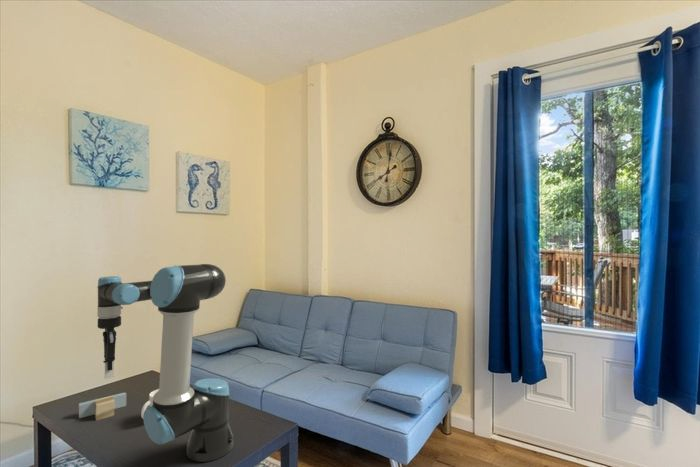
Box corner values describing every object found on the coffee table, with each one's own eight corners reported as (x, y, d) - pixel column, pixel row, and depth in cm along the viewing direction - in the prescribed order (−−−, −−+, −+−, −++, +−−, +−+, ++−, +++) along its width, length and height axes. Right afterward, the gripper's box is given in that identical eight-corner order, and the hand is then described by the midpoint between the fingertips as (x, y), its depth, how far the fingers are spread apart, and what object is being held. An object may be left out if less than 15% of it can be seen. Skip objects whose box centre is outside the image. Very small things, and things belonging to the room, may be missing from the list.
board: (126, 405, 150) (126, 394, 150) (79, 418, 139) (79, 405, 139) (125, 403, 152) (125, 392, 152) (78, 415, 141) (78, 403, 141)
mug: (147, 430, 132) (147, 403, 132) (134, 424, 136) (135, 397, 136) (176, 416, 142) (176, 391, 142) (164, 411, 146) (164, 386, 146)
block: (114, 415, 142) (114, 401, 142) (96, 420, 138) (96, 405, 138) (112, 409, 147) (112, 395, 147) (94, 414, 143) (94, 400, 143)
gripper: (123, 317, 133) (123, 380, 132) (118, 312, 143) (118, 370, 142) (99, 321, 128) (99, 385, 127) (95, 315, 138) (95, 375, 137)
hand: (109, 377), depth 135 cm, fingers closed
